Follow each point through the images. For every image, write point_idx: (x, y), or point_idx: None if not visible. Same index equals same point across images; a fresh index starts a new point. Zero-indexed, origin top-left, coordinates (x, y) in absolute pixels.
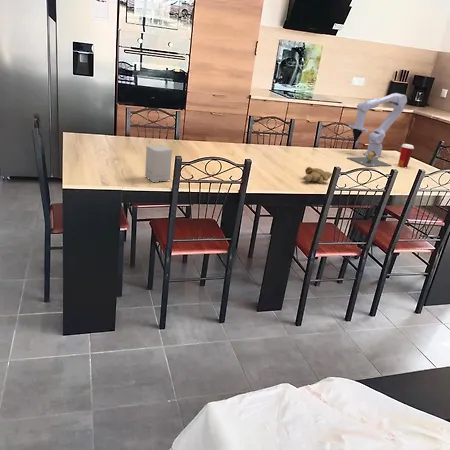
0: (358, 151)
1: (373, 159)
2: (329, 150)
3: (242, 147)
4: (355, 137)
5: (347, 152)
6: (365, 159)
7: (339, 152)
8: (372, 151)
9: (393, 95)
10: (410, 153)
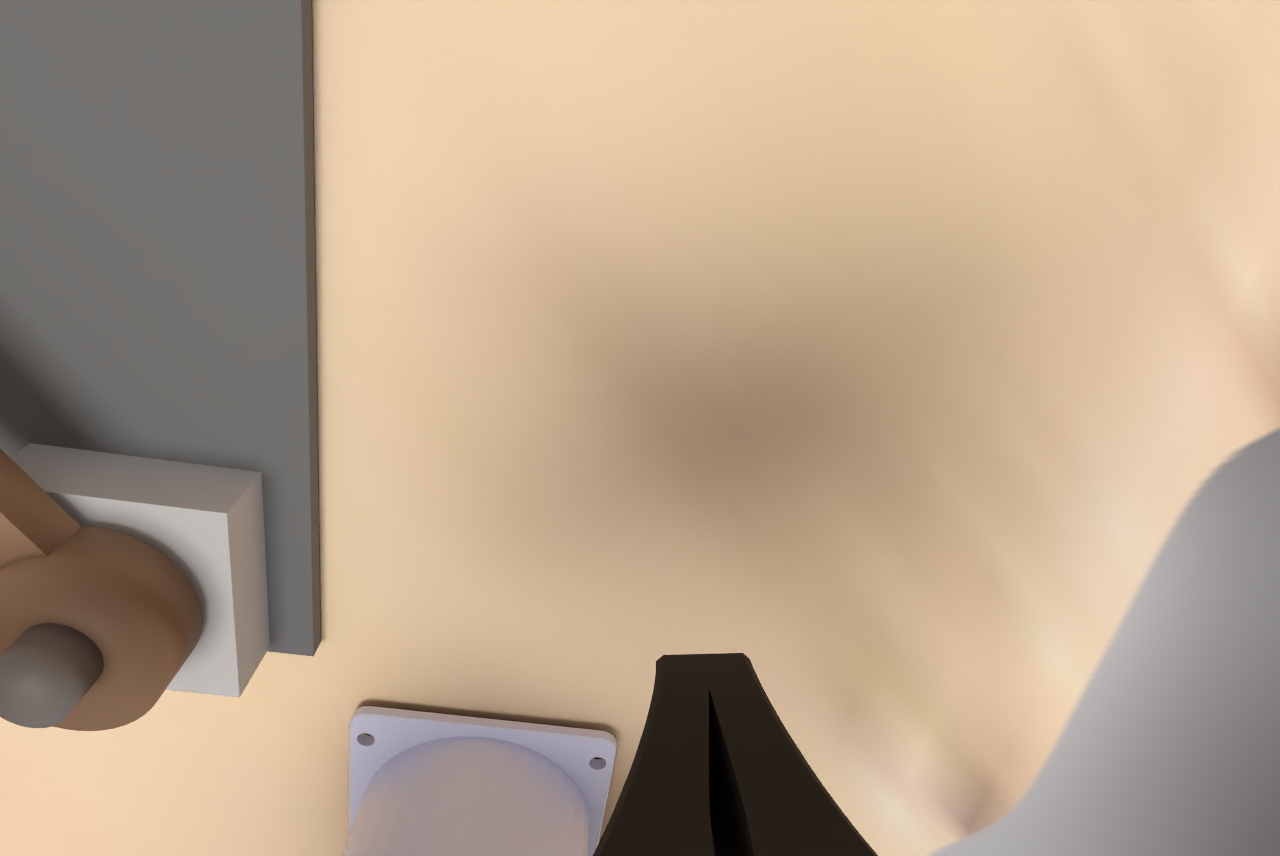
0: None
1: None
2: (1268, 34)
3: None
4: (674, 762)
5: (864, 472)
6: (73, 307)
7: (958, 207)
8: (17, 652)
9: None
10: None
